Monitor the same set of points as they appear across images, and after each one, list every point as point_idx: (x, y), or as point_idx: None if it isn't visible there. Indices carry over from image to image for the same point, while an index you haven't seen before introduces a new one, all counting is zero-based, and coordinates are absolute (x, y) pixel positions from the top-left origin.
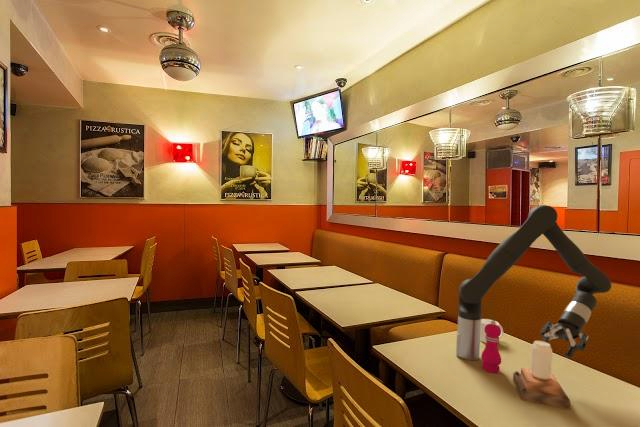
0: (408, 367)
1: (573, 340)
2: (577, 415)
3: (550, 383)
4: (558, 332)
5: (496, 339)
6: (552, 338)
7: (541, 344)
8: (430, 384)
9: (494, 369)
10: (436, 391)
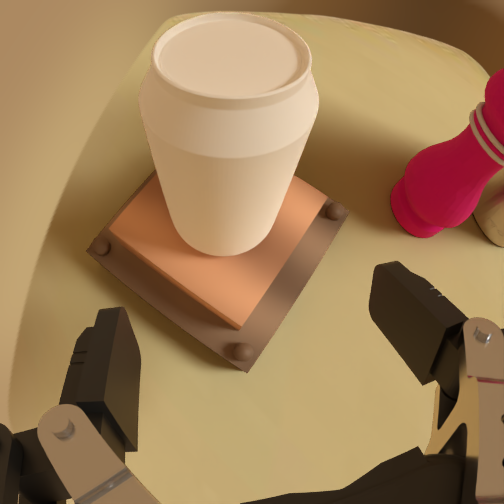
0: (394, 36)
1: (74, 501)
2: (67, 255)
3: (149, 202)
4: (444, 494)
5: (478, 118)
6: (434, 426)
7: (219, 39)
8: (318, 22)
9: (397, 190)
10: (287, 15)
